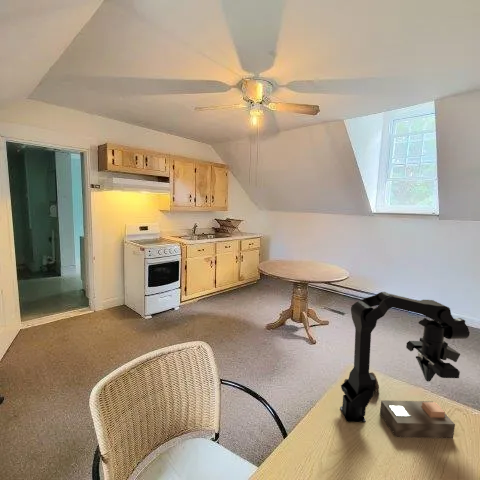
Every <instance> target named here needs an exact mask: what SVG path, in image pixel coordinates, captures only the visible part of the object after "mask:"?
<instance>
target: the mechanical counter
mask: <svg viewBox="0 0 480 480" xmlns="http://www.w3.org/2000/svg"><path fill="white" fill-rule="evenodd" d="M369 373H370V374H371V375H372V376H373V377H374V378H375V380H376V384H375V390H376V392H375V393H377V395H380V391H379V390H380V385H379V382H378V379H377V376H376V374H375V373H374V372H369ZM348 379H349V378H345V379H344V381H343V383H344V382H345V381H346V380H348Z"/></svg>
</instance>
